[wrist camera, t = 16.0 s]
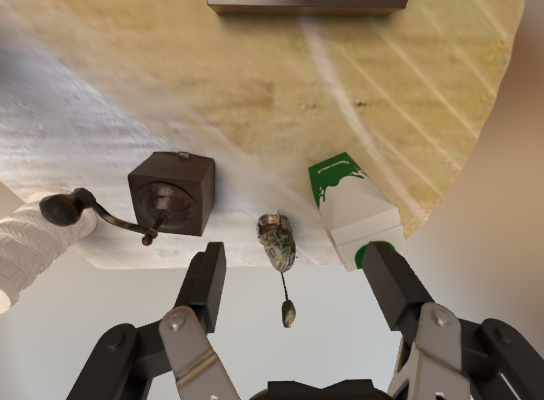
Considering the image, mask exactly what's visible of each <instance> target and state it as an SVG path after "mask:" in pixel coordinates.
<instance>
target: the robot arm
mask: <svg viewBox="0 0 544 400" xmlns="http://www.w3.org/2000/svg"><path fill="white" fill-rule="evenodd" d="M362 266H363V271H364V273H365V275H366V277H367V280H368V282H369V284H370V286H371V288H372V290H373V293H374V295H375V297H376V299H377V301H378V304H379V306H380V308H381V310H382V312H383V314H384V317H385V319H386V321H387V323H388V325H389V328H390V330H391V331H401V333H402V335H403V337H402V338H401V342H400V347H399V352H398V356H397V361H396V365H395V370H394V375H393V378H392V381H391V383H390V386H389V388H388V391H387V393H385V392H383V391H381V390H378V389H377V388H374V386H373V383H372V380H371V379H357V380H356V379H355V380H344V381H341V382H339V383H336V384H334V385H331V386H328V387H326V388H323V389H318V388H315V387H312V386H309V385H305V384H302V383H299V382H295V381H269V382H268V389H265V390H263V391H261V392H259V393H257V394H255V395H254V396H253V397H251V398H250V399H249V400H470V394H471V395H472V397H473V399H474V400H518V399H517V398H516V396H515V395H514V393H513V392H512V391H511V389H510V388H509V386H508V385H507V383H506V382H505V380H504V379H503V378H502V376H501V374H502V373H503V375H504V376H505V378H506V379H507V381H508V382H509V383H510V385H511V386H512V388H513V389H514V391H515V392H516V393H517V395H518V396H519V398H520V399H521V400H544V360H543V359H542V357H541V356H540V355H539V354H538V353H537V352H536V351H535V349H534V348H533V347H532V346H531V345H530V344H529V343H528V341H527V340H526V339H525V338H524V337H523V336H522V335H521V334H520V333H519V332H518V331H517V330H516V329H514V328H513V327H512V326H510V325H508V324H507V323H505V322H503V321H500V320H497V319H491V318H489V319H486V320H484V321H483V322H482V323H481V324H477V323H474V322H470V321H467V320H463V319H459V318H457V317H456V316H455V315H454V314H453V313H452V312H451V311H450V310H449V309H447V308H446V307H444V306H442V305H440V304H437V303H435V301H434V300H433V299H432V297H431V296H430V294H429V293H428V291H427V290H426V289H425V288H424V286H423V284H422V283H421V281H420V280H419V279H418V277H417V276H416V275H415V273H414V271H413V270H412V269H411V268H410V265H409V264H408V263H407V261H406V260H405V258H404V257H403V256H401V255H400V254H399V253H398V252H396V251H392V250H391V249H390V247H389V246H388V244H387V243H386V242H385V241H370V242H369V243H368V246H367V249H366V252H365V255H364V258H363V261H362ZM225 274H226V257H225V250H224V244H223V242H209V243H208V245H207V248H206V251H205V252H198V253H197V254H196V255H195V256H194V257H193V259H192V260H191V263H190V265H189V269H188V271H187V273H186V277H185V279H184V281H183V284H182V287H181V289H180V292H179V295H178V297H177V300H176V303H175V305H174V307H173V309H172V310H170V311H169V312H167V313H166V315H165V316H164V317H163V318H162V319H161V320H159V321H157V322H154V323H151V324H148V325H145V326H142V327H139V328H135V327H134V326H133V325H132V324H128V323H124V324H119V325H117V326H114V327H113V328H111V329H109V330H108V331H107V332H106V333H104V334H103V335H102V336H101V338H100V339H99V340H98V342H97V344H96V345H95V348H94V349H93V351H92V353H91V355H90V357H89V358H88V360H87V362H86V364H85V366H84V368H83V369H82V371H81V373H80V375H79V377H78V379H77V380H76V382H75V384H74V386H73V388H72V390H71V392H70V393H69V395H68V397H67V399H66V400H147V396H148V393H149V390H150V387H151V383H152V380H153V378H154V377H156V376H159V375H161V374H164V373H167V372H169V371H172V370H173V373H174V376H175V380H176V386H177V389H178V393H179V396H180V399H181V400H241V399H240V397H239V396H238V393H237V391H236V390H235V388H234V386H233V384H232V382H231V380H230V378H229V376H228V374H227V372H226V370H225V368H224V366H223V364H222V362H221V360H220V358H219V357H218V355H217V354H216V352H215V351H214V350H213V348H212V346H211V344H210V342H209V340H208V338H207V333H214V331H215V325H216V320H217V315H218V310H219V305H220V300H221V294H222V289H223V284H224V279H225Z"/></svg>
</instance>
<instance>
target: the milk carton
mask: <svg viewBox="0 0 544 400" xmlns="http://www.w3.org/2000/svg"><path fill="white" fill-rule="evenodd" d="M309 173H310V179H311V184H312V190H313V194H314V197H315V200H316V203H317V206H318V209H319V212H320V215H321V218H322V221H323V223H324V226H325V228H326V229H325V230H327V231H326V232H328V233H327V234H329V235H328V237H329V239H330V241H331V243H332V245H333V247H334V248H335V250H336V252H337V254H338V256H339V258H340V259H341V261H342V263H343V264H344V266H345V268H346V269H347V271H352V270H355V269H361V268H362V269H363V266H362V261H363V258H364V255H365V252H366V249H367V246H368V243H369V242H370V241H385V242H386V243H387V244H388V246H389V247H390V249H391V250H392V251H396V252H398V253H399V254H400V255H404V254H406V253H407V250H406V244H405V239H404V234H403V226H402V223H401V220H400V218H399V213H398V208H397V207H396V206H395V205H393V204H392V203H391V202H389V201H388V200H387V199H386V198H385V196H384V195H383V194H382V193H381V192H380V190H379V189H378V188H377V187H376V186H375V185H374V184H373V182H372V181H371V180H370V179H369V178H368V177H367V175H366V174H365V173H364V172H363V171H362V170H361V169H360V168H359V166H358V165H357V164H356V163H355V162H354V161H353V160H352V159H351V158H350V157H349V156H348V154H347V153H346V152H344V153H342V154H340V155H337V156H335V157H333V158H330V159H328V160H326V161H323V162H321V163H319V164H316V165H314V166H312V167H310V168H309Z"/></svg>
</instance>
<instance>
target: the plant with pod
mask: <svg viewBox="0 0 544 400" xmlns="http://www.w3.org/2000/svg"><path fill="white" fill-rule="evenodd" d="M259 219H260V220H259V221H258V222H259V223H258V226H257V229H256V230H258V231H257V232H258V235H259V236H258V238H259V239H260V240H259V241H260V243H261V244H262V245H264V248H266V249H265V251H266V253H267V254H268V257H269V259H270V261H271V263H272V265H273V266H274V267H275V269H276V270H278V271H280V272H281V274H282V279H283V284H284V288H285V297H286V301H285V302H284V303H283V305H282V319H283V320H282V321H283V324H284V327H285V328H290V325H291V324H292V323H293V321H294V319H295V314H296V312H295V307H294V305H293V303H292V302H291V300H288V295H287V291H286V287H285V281H284V277H283V273H282V272H285V271H287V270H289V269H290V268H291V267H292V265H293V263H294V259H295V252H296V251H295V249H296V248H295V242H294V239H293V236H292V233H291V232H292V229H291V228H290V225H289V224H290V223H289V222H288V219H287V218H286V217H283V216H280V214H279V210H277V215H275V216H274V215H271V216H270V215H266V216H265V215H264V216H262V217H260V218H259ZM296 258H298V257H297V256H296Z"/></svg>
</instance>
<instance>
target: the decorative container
mask: <svg viewBox="0 0 544 400" xmlns="http://www.w3.org/2000/svg"><path fill="white" fill-rule="evenodd" d="M56 194H71V192H68V191H65V190H62V189H56V188H45V189H42V190H39V191H37V192H35V193H33V194H32V195H31V196H30V197H29V198H28V200H27V203H26V204H25V205H23V206H22V207H19V208H18V209H17V210H16V211H15V212H14V213H13V214H10V215H7V216H5V217H3V218H1V219H0V313H4V312H6V311H7V310H9V309H10V308H11V307H12V306H13V305H14V304H15V303H16V302H17V301H18V299H19V292H20V291H21V290H24V289H25V288H27V287H28V286H30V285H31V284H32V283H33V282H34V280H35V279H36V276H37V275H38V274H40V273H42V272H44V271H45V270H47V269H48V268H49V266H50V265H51V264H52V262H53V260H54V259H56V258H58V257H60V256H61V255H63V254H64V252H65V251H66V249H67V247H69V246H70V245H72V244H74V243H75V242H76V241H77V240H78V238H82V237H85V236H87V235H88V234H90V233H91V232H92V231H93V230H94V229H95V227H96V225H97V217H96V214H95V212H94V211H93V209H92V208H88V209H84V211H83V212H82V215H81V218H80V220H79V221H78V222H77V223H76V224H74V225H70V226H65V227H60V226H56V225H54V224H52V223H50V222H48V221H47V220H46V219H45V218H44V217H43V215H42V214H41V212H40V208H39V203H40V201H41V200H42V199H43V198H44V197H47V196H50V195H56Z"/></svg>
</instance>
